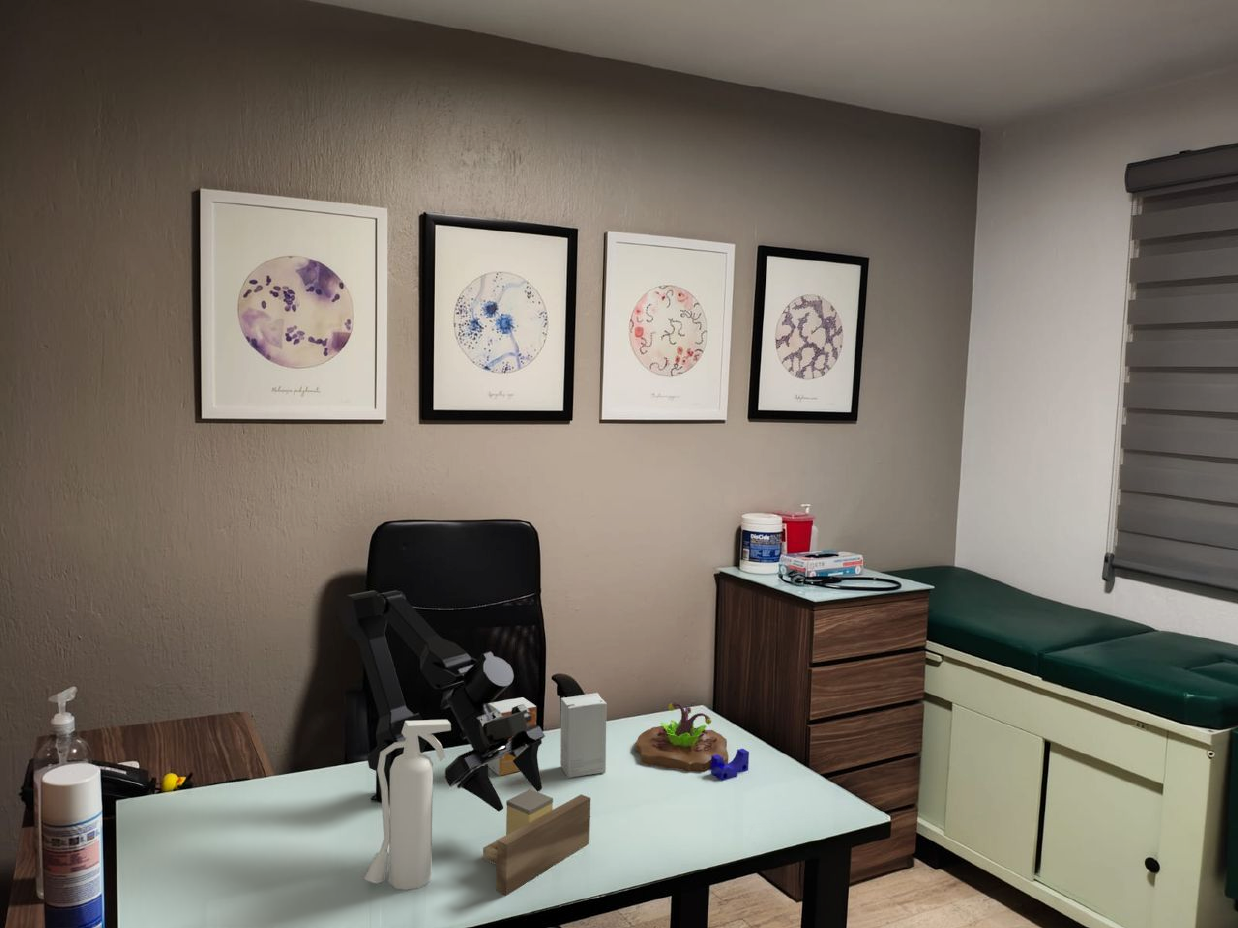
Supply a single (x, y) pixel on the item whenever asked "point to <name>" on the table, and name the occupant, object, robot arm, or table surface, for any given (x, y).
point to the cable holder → (729, 765)
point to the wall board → (540, 844)
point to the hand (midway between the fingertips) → (521, 799)
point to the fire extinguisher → (408, 809)
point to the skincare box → (583, 735)
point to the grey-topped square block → (526, 809)
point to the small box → (506, 762)
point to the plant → (681, 744)
